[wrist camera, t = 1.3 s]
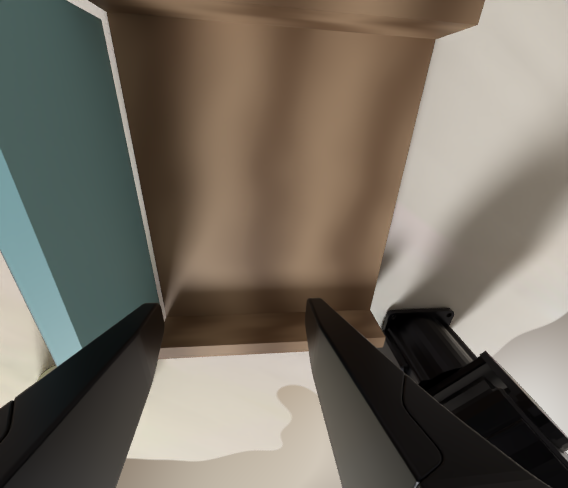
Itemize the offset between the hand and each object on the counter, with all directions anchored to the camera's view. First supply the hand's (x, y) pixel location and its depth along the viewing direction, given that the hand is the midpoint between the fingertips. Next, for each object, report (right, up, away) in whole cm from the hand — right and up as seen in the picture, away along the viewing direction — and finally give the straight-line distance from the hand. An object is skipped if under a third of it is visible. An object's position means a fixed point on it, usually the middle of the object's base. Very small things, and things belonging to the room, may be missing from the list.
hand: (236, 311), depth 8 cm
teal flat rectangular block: (-7, +5, +8) cm, 12 cm away
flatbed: (+1, +5, +11) cm, 12 cm away
